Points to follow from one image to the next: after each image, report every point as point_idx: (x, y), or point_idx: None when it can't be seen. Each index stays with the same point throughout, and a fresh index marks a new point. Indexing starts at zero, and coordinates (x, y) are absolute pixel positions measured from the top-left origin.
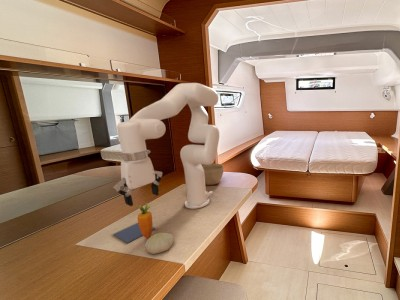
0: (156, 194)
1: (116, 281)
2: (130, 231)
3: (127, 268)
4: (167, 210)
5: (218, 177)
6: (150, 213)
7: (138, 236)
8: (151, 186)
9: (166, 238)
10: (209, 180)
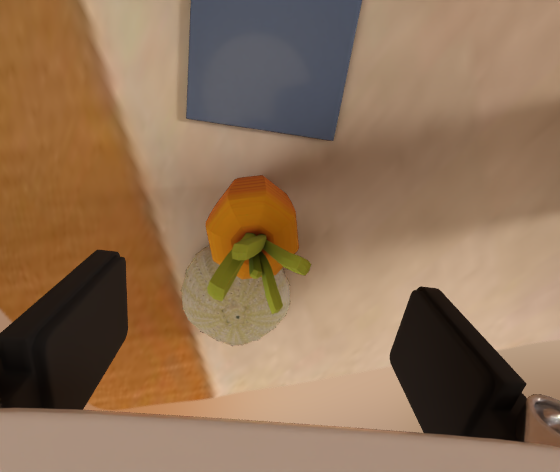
0: (393, 363)
1: None
2: (259, 21)
3: None
4: (540, 12)
5: None
6: (279, 269)
7: (246, 124)
8: (472, 365)
9: (242, 342)
10: None
